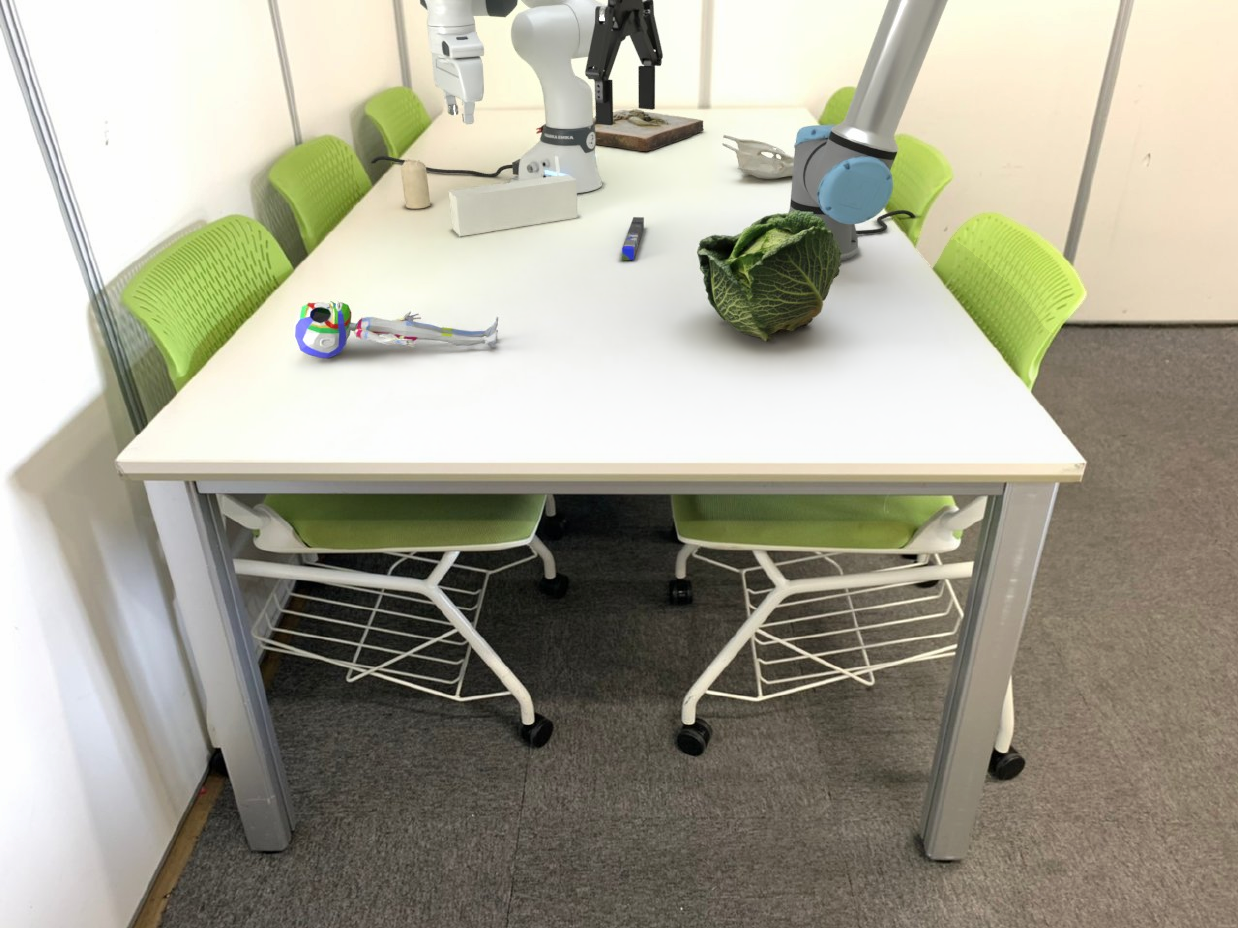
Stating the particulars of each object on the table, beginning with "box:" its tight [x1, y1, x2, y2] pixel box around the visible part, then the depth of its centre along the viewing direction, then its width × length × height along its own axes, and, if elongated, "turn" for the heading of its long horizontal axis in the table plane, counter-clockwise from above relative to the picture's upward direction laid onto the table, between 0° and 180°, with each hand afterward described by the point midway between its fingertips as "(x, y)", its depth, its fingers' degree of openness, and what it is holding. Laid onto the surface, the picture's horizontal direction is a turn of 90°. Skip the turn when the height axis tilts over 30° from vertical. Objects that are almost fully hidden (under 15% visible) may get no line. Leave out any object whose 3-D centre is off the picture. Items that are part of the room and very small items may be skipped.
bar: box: [448, 174, 579, 237], centre depth 188 cm, size 26×5×8 cm, turn 116°
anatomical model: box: [721, 134, 794, 180], centre depth 217 cm, size 15×9×25 cm
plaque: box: [593, 108, 705, 152], centre depth 257 cm, size 30×7×30 cm
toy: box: [293, 300, 499, 359], centre depth 136 cm, size 10×8×30 cm
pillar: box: [621, 216, 645, 261], centre depth 178 cm, size 2×2×20 cm
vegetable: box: [696, 210, 842, 342], centre depth 138 cm, size 20×19×20 cm
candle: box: [399, 158, 431, 210], centre depth 200 cm, size 6×6×10 cm
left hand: (460, 119), depth 175 cm, fingers open, 8 cm apart
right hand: (626, 116), depth 145 cm, fingers open, 13 cm apart
